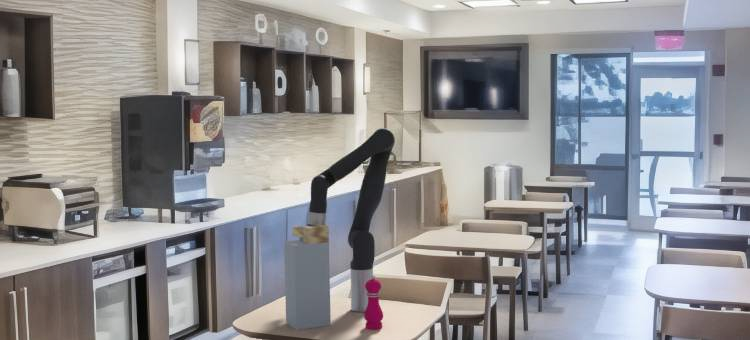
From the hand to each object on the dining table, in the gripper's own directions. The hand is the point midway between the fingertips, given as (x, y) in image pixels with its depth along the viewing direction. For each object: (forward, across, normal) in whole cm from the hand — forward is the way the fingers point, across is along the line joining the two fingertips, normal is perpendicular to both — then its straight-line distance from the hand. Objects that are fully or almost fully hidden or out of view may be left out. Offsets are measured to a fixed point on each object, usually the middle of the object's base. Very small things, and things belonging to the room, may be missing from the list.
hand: (313, 262), depth 337 cm
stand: (+20, -21, +11) cm, 31 cm away
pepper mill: (+18, -39, -7) cm, 44 cm away
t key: (-12, -14, +11) cm, 21 cm away
